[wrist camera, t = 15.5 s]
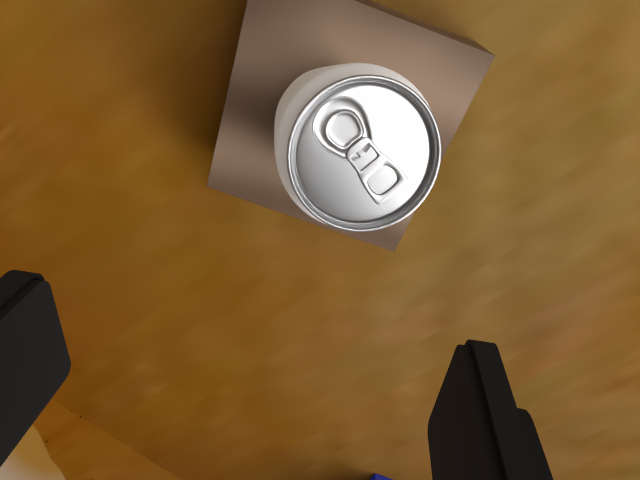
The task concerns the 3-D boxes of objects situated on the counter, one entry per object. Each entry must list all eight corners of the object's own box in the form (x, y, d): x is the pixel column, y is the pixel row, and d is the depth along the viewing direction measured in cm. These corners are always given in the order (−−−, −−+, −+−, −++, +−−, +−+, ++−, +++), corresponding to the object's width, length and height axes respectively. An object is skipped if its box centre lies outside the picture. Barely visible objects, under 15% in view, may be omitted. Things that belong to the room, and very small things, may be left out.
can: (335, 42, 26) (383, 16, 15) (401, 130, 28) (486, 167, 17) (251, 117, 27) (234, 148, 15) (321, 197, 29) (350, 275, 18)
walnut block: (277, -37, 29) (255, -39, 24) (474, 41, 30) (495, 55, 25) (230, 156, 36) (206, 186, 31) (391, 213, 37) (394, 251, 32)
